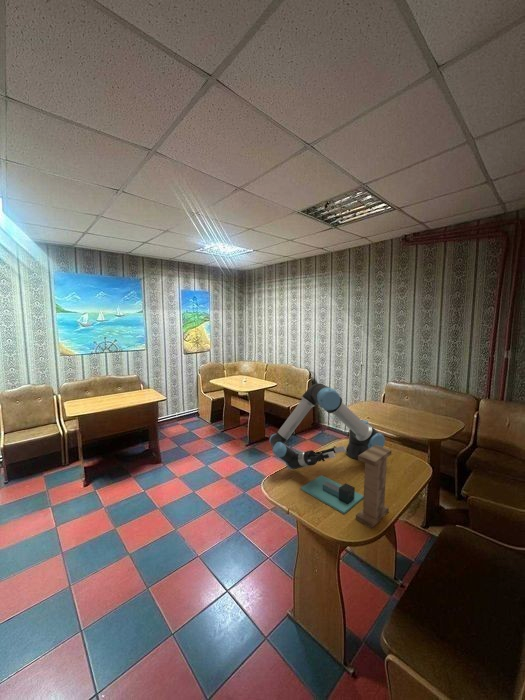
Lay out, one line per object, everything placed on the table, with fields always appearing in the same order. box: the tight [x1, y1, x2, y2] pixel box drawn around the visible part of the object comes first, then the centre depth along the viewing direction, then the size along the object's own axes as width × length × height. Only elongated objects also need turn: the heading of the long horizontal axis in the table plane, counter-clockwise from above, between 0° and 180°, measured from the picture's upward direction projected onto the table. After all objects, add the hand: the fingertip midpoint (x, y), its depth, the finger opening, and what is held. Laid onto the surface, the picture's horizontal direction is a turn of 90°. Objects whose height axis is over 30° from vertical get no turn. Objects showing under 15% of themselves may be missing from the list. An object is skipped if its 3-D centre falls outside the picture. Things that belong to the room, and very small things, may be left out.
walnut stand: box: [355, 445, 393, 529], centre depth 129 cm, size 16×8×30 cm, turn 132°
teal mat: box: [300, 474, 364, 515], centre depth 147 cm, size 18×26×1 cm
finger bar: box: [323, 482, 356, 504], centre depth 144 cm, size 6×15×6 cm, turn 42°
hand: (339, 451), depth 141 cm, fingers open, 9 cm apart
